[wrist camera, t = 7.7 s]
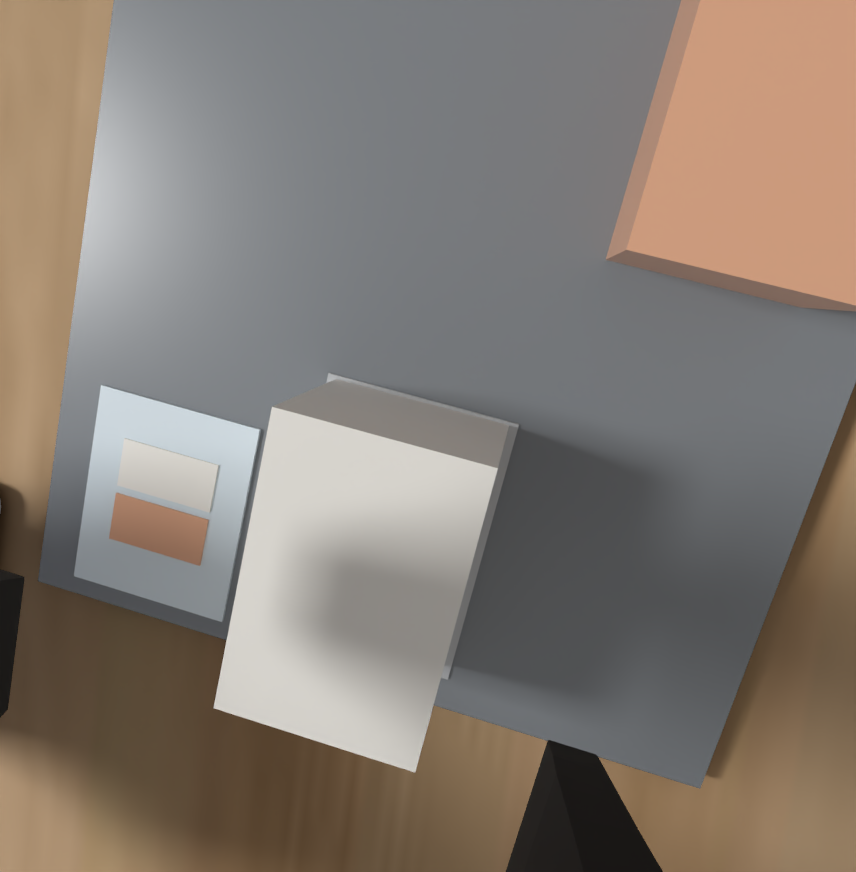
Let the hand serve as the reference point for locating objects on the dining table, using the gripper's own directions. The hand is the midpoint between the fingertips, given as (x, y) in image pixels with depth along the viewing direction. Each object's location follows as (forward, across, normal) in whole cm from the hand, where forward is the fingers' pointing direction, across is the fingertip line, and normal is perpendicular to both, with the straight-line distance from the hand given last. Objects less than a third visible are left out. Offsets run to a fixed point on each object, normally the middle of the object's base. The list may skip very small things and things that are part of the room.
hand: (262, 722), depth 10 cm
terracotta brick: (+8, -5, -10) cm, 14 cm away
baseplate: (+8, 0, -6) cm, 10 cm away
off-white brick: (+8, 0, 0) cm, 8 cm away
